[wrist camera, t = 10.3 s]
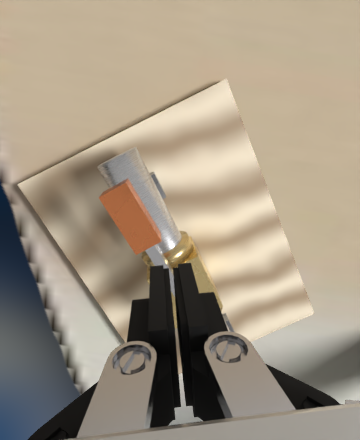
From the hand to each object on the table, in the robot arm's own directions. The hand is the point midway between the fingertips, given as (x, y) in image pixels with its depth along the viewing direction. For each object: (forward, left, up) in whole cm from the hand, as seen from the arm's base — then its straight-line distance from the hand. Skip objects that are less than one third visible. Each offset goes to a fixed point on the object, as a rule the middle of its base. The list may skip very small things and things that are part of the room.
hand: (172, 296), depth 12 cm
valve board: (-10, +1, -25) cm, 27 cm away
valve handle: (-4, +3, -16) cm, 16 cm away
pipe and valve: (-10, +2, -23) cm, 25 cm away
